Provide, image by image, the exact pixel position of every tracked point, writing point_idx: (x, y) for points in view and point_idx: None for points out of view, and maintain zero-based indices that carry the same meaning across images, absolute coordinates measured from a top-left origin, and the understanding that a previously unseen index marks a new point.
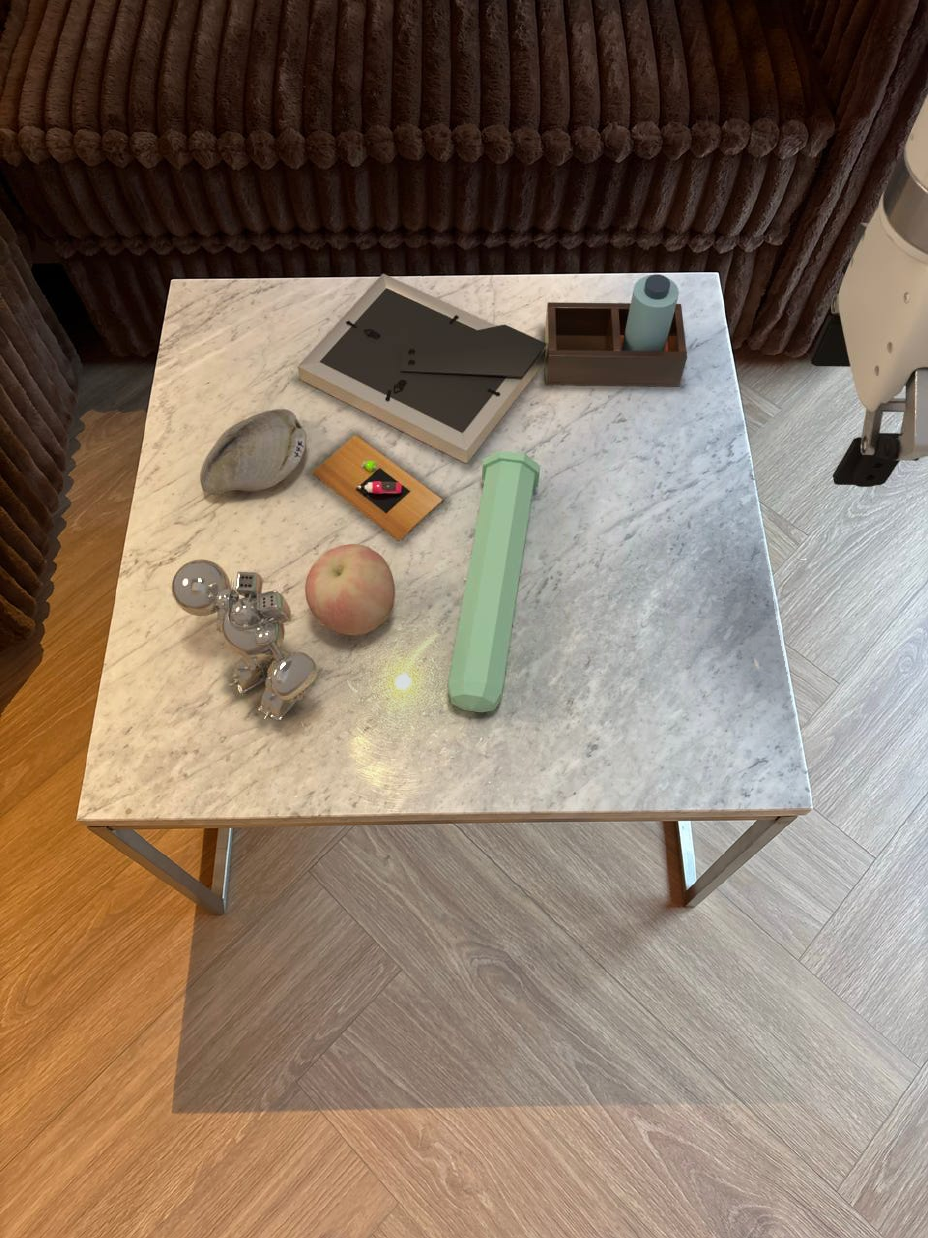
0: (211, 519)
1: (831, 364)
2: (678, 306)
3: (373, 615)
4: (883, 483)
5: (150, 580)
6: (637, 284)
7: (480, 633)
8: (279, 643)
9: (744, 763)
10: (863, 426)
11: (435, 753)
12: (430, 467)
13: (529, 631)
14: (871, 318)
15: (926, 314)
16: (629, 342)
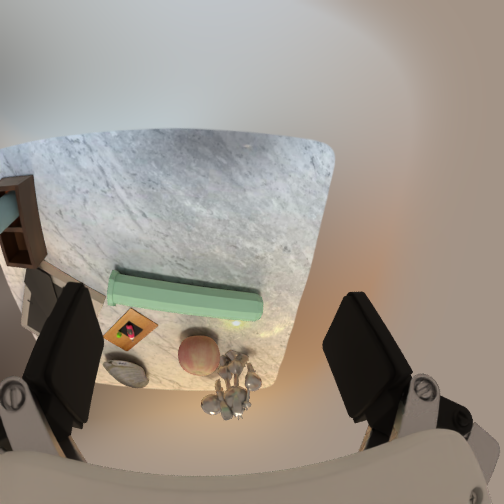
0: (157, 375)
1: (96, 324)
2: None
3: (215, 352)
4: (362, 292)
5: (186, 386)
6: None
7: (227, 315)
8: (243, 392)
9: (311, 170)
10: (362, 443)
11: (273, 311)
12: (112, 311)
13: (211, 273)
14: None
15: None
16: (15, 219)
